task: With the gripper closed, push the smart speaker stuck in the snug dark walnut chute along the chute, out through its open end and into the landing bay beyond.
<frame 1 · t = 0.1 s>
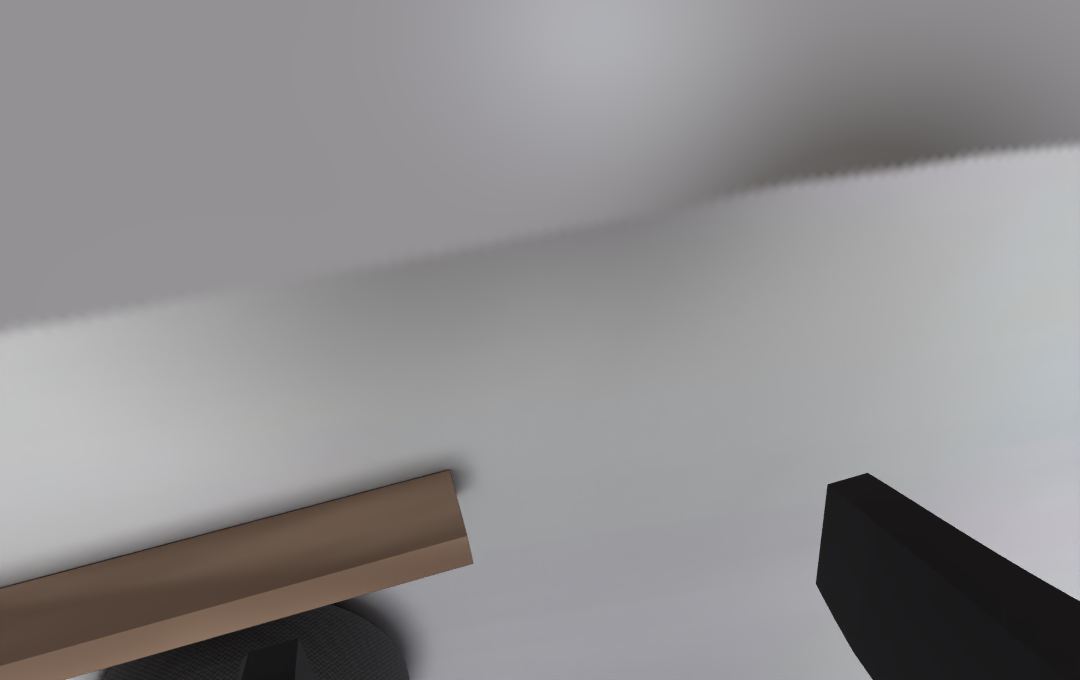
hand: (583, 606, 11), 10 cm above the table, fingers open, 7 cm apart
smart speaker: (257, 678, 25), on the table
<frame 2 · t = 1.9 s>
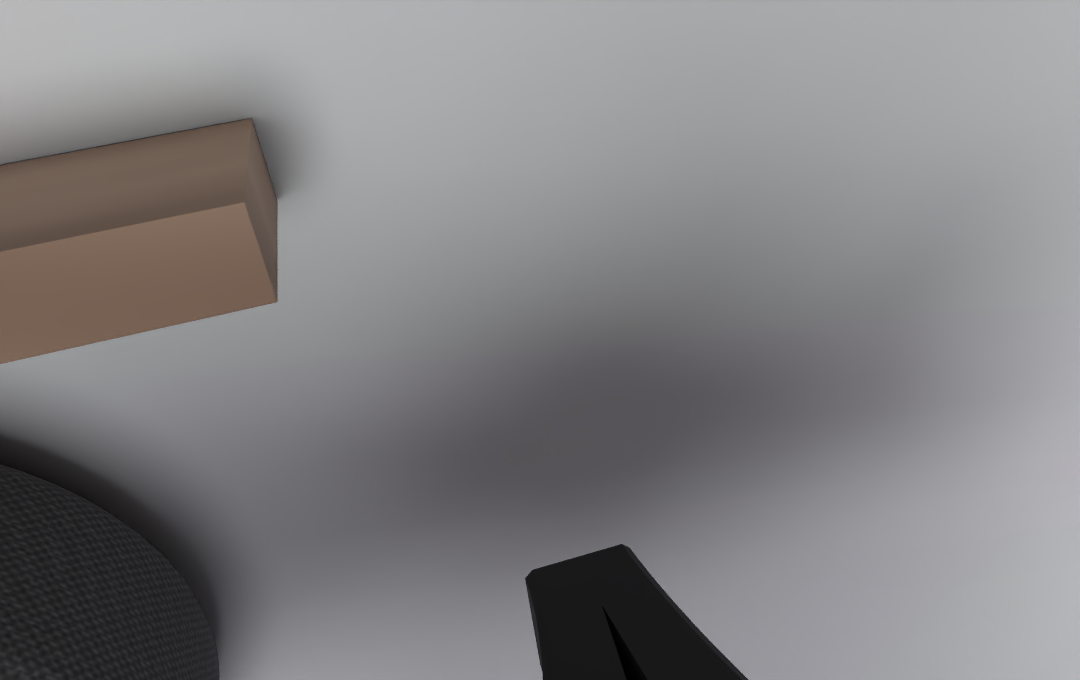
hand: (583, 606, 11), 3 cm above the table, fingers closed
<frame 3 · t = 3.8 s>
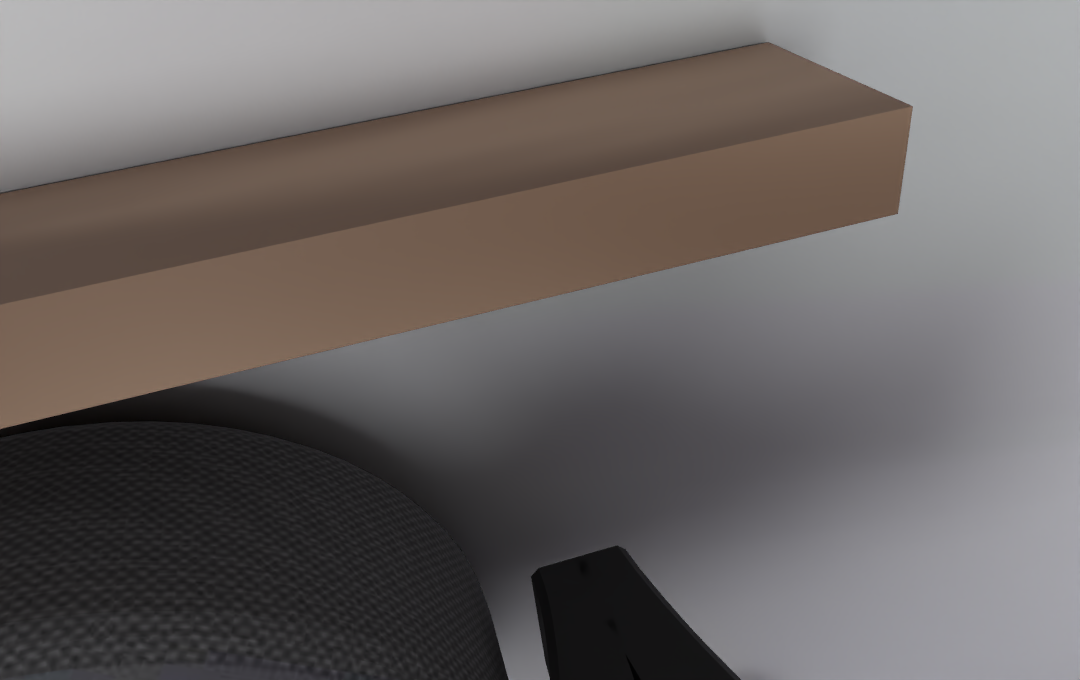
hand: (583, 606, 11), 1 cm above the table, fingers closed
smart speaker: (161, 637, 11), on the table, touching gripper
chute: (181, 640, 11), on the table
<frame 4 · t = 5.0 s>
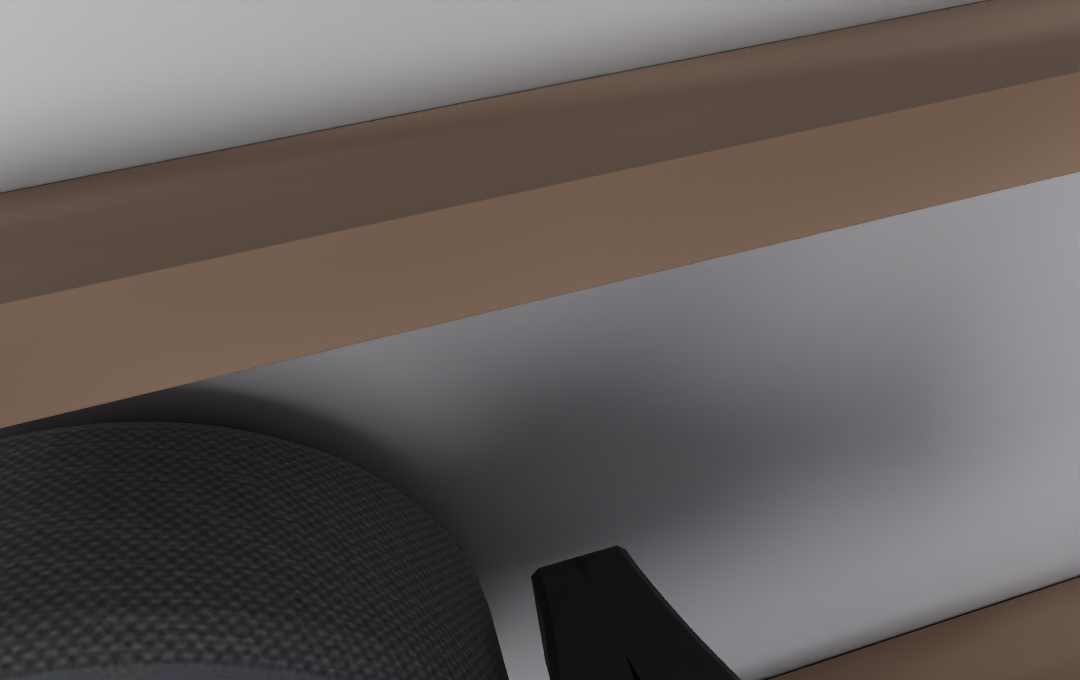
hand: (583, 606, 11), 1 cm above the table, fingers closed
smart speaker: (163, 636, 11), on the table, touching gripper
chute: (766, 472, 13), on the table
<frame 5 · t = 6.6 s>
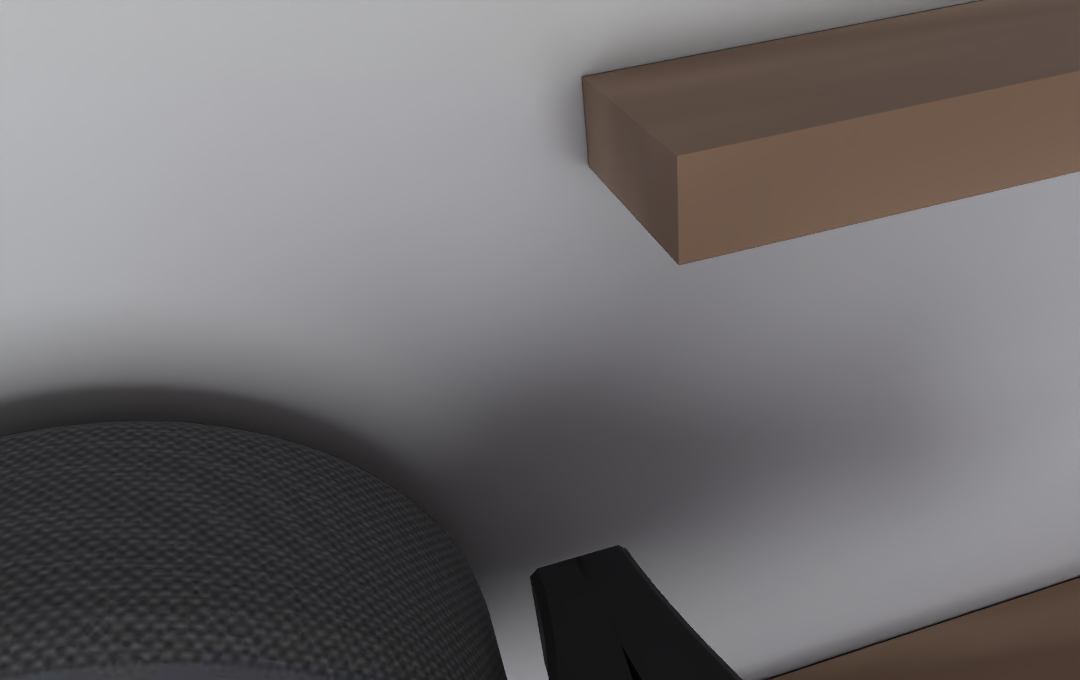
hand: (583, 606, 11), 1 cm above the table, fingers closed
smart speaker: (160, 636, 11), on the table, touching gripper
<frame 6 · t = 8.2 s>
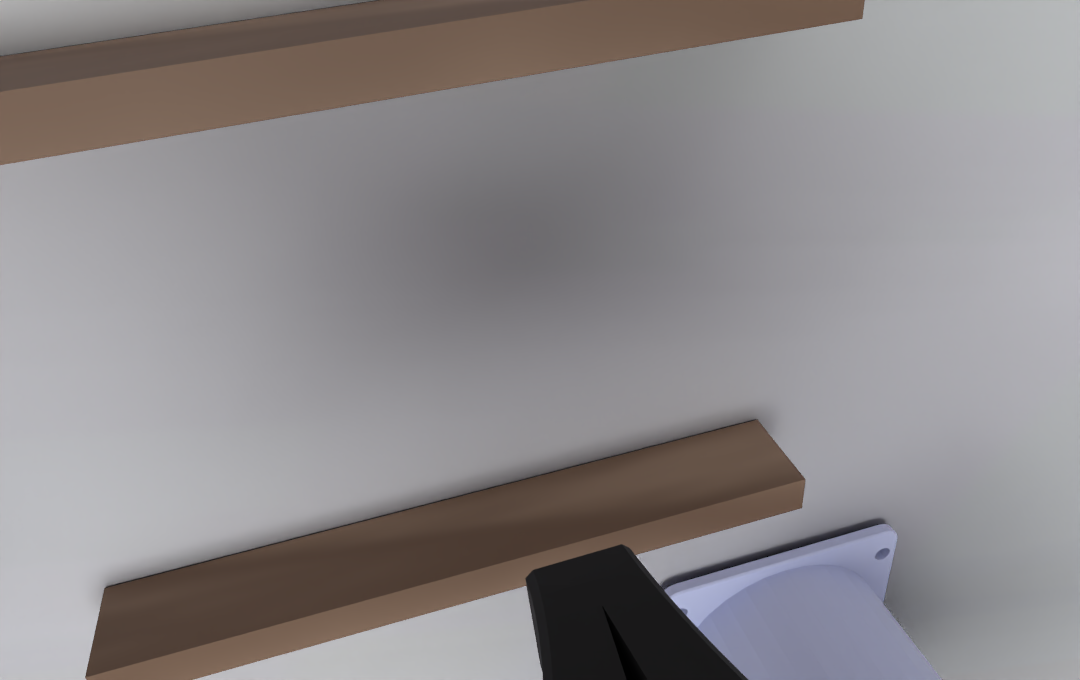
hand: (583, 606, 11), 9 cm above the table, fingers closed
chute: (416, 316, 18), on the table
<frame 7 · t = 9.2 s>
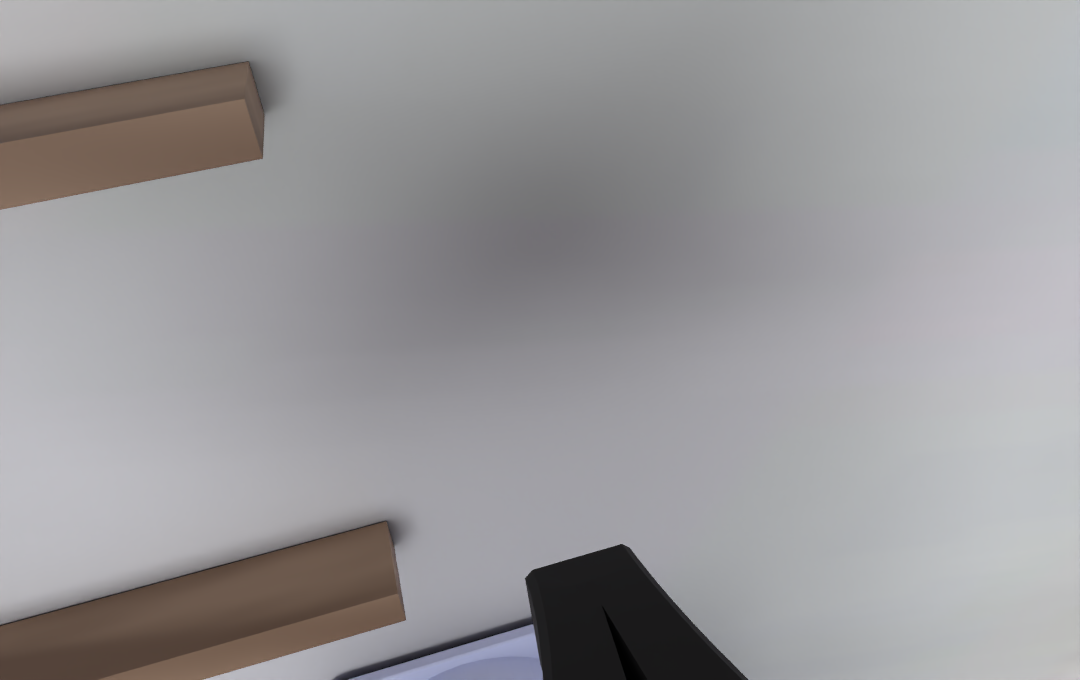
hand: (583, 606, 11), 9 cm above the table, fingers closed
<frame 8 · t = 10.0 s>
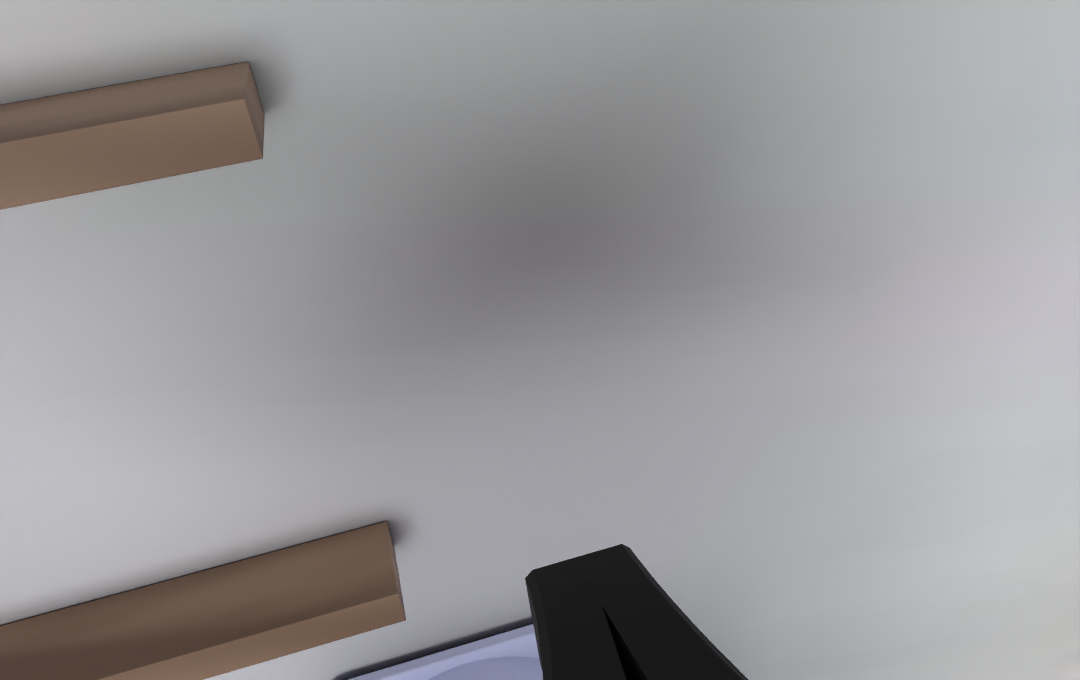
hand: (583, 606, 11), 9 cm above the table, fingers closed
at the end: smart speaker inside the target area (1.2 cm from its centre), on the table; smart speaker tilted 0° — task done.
